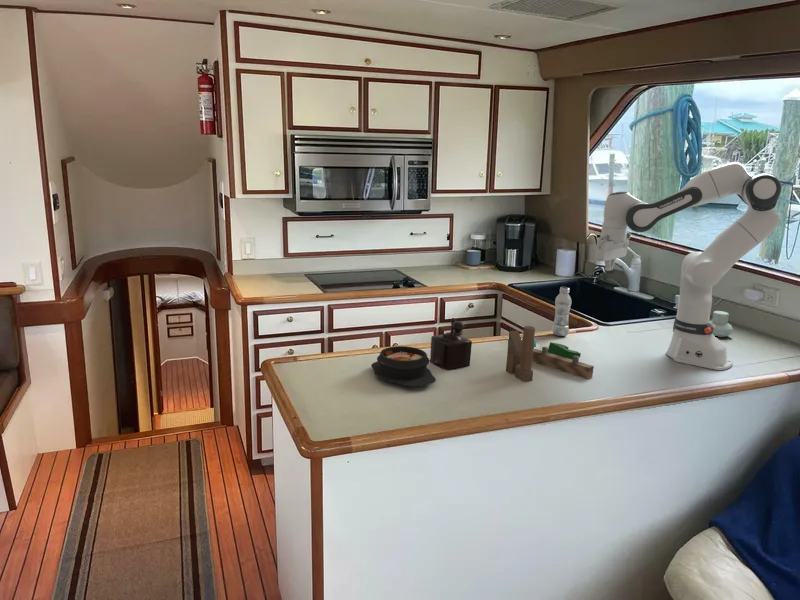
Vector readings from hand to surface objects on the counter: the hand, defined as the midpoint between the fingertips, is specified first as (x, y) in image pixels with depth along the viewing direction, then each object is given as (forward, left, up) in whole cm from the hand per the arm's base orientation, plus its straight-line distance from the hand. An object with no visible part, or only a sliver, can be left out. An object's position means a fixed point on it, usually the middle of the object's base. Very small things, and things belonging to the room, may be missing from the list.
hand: (608, 270), depth 243 cm
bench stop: (-5, +40, -29) cm, 50 cm away
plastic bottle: (+15, +5, -29) cm, 33 cm away
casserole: (+24, +88, -29) cm, 96 cm away
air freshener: (-28, -50, -29) cm, 64 cm away
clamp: (-2, +32, -30) cm, 44 cm away
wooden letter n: (0, +57, -29) cm, 64 cm away
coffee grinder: (+20, +67, -29) cm, 76 cm away
